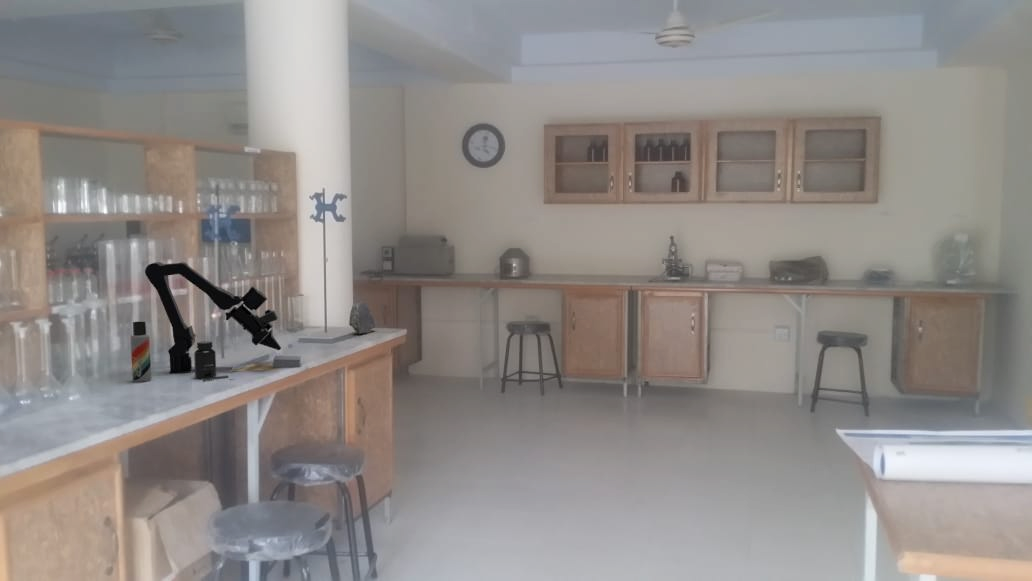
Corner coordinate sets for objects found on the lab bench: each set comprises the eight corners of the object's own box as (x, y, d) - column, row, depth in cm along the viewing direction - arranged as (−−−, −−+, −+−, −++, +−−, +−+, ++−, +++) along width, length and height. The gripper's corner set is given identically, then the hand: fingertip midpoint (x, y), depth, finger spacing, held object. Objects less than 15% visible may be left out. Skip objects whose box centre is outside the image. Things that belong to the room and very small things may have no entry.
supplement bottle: (209, 379, 275) (207, 344, 274) (190, 378, 277) (189, 343, 276) (220, 375, 282) (219, 340, 281) (202, 374, 283) (201, 340, 282)
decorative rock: (358, 336, 366) (357, 302, 364) (346, 335, 369) (345, 302, 367) (378, 331, 381) (377, 298, 379) (366, 330, 384) (365, 298, 382)
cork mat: (229, 372, 287) (229, 371, 287) (233, 366, 298) (233, 364, 298) (276, 370, 290) (276, 369, 290) (279, 364, 302) (279, 363, 302)
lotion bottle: (131, 382, 271) (128, 322, 269) (134, 379, 276) (131, 320, 274) (149, 381, 272) (146, 321, 270) (152, 378, 278) (149, 319, 276)
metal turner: (205, 383, 270) (205, 380, 270) (201, 379, 275) (200, 376, 275) (250, 377, 278) (250, 375, 278) (246, 374, 283) (245, 372, 283)
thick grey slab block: (273, 359, 292) (299, 359, 294) (275, 355, 299) (300, 356, 301) (273, 367, 292) (299, 368, 294) (274, 364, 299) (300, 364, 301)
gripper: (260, 306, 283) (294, 337, 287) (265, 300, 302) (297, 329, 305) (237, 329, 283) (272, 360, 286) (243, 322, 301) (276, 351, 304)
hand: (280, 349), depth 295 cm, fingers closed
